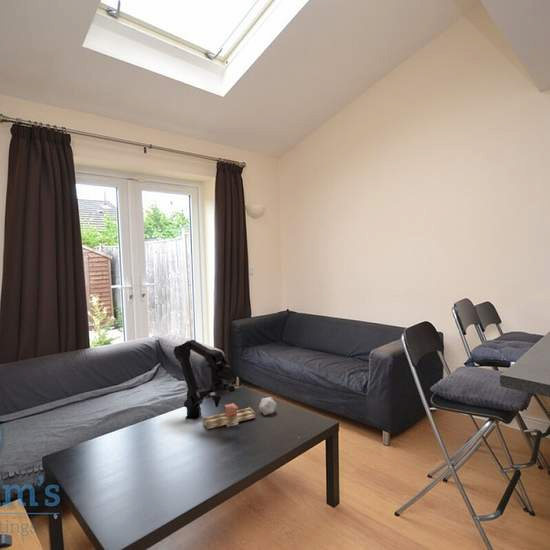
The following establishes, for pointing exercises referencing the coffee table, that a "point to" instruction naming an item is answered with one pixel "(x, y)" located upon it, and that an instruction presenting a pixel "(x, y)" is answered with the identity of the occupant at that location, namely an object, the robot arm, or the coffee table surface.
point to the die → (267, 405)
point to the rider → (231, 410)
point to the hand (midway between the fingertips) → (216, 406)
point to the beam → (228, 418)
